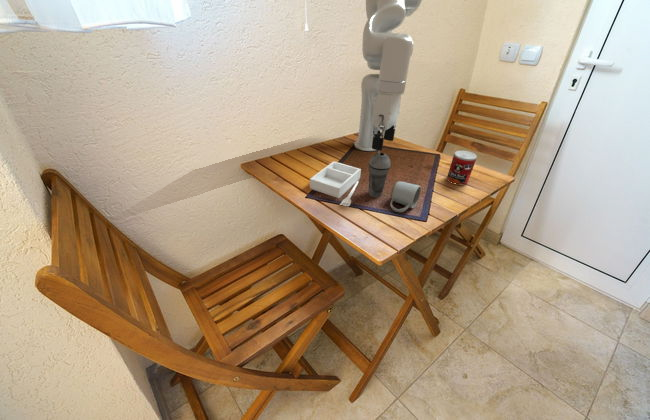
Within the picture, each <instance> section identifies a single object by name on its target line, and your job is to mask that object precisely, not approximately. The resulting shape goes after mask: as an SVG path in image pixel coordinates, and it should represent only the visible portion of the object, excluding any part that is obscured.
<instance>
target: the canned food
mask: <svg viewBox="0 0 650 420" xmlns="http://www.w3.org/2000/svg"><path fill="white" fill-rule="evenodd" d="M477 157H478V156H477V154H475V153H474V152H473V151H468V150H457V151H455V152H454V154H453V157H452V159H451V162H450V167H449V169H448V173H447V177H446V178H447V179H448V180H449V181H450V182H452V183H456V184H465V185H466V184H467V183H468V182H469V180H470V178H471V174H472V173H473V172H472V171H473V168H474V166H475V163H476V160H477V159H478V158H477ZM447 179H446V180H447ZM448 180H447V181H448ZM449 181H448V182H449ZM450 182H449V183H450ZM452 183H451V184H452Z"/></svg>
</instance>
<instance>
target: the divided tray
mask: <svg viewBox="0 0 650 420" xmlns="http://www.w3.org/2000/svg"><path fill="white" fill-rule="evenodd" d="M361 171H362V169H361V168H358V167H355V166H351V165H348V164H345V163H342V162H338V161H332V162H330V163H329V164H328V165H326V167H324V168H323V169H321V170H319V172H317V173H316V174H314V175H313V176H311V178H309V189H310V190H313V191H316V192H319V193H323V194H325V195H328V196H331V197H334V198H337V199H340V198H341V197H342V196H343V195H344V194H345V193H346V192H347V191H348V190H350V188H352V186H354V185H355V184H356V182H357V181H360V179H361Z"/></svg>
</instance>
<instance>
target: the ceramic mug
mask: <svg viewBox="0 0 650 420" xmlns="http://www.w3.org/2000/svg"><path fill="white" fill-rule="evenodd" d="M421 190H422V187H421V185H419V184H413V183H411V182H410V183H409V182H405V181H399V180H398V181H396V182H395V183H394V184H393V186H392V188H391V191H390V209H391V210H392V211H394V212H395V213H403V212H405V211H407V210H408V209H409V208H410V209H414V208H415V207H416V205H417V204H418V201H419V200H420V196H421ZM393 202H394V203H397V204H400V205H402V206H404V207H403V208H396V207H395V206H394V205H393Z"/></svg>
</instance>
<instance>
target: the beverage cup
mask: <svg viewBox="0 0 650 420" xmlns="http://www.w3.org/2000/svg"><path fill="white" fill-rule="evenodd" d="M377 151H378V152H377V153H374V154H373V155H372V156H371V157H370V159H369V162H368V170H369V174H368V175H369V176H368V195H369V196H370V197H372V198H376V199H378V198H381V197H382V194H383V192H384V188H385V184H386V180H387V177H388V173H389V171H390V169H391V159H390V157H389V156H388V155H387V153H384V152H381V151H379V150H377Z"/></svg>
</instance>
